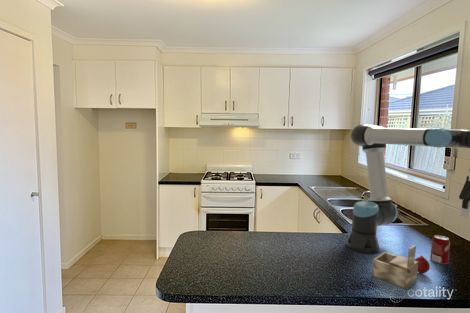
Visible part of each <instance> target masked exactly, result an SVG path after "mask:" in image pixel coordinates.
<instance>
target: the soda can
mask: <svg viewBox="0 0 470 313" xmlns="http://www.w3.org/2000/svg"><path fill="white" fill-rule="evenodd" d="M450 248H451V242H450V239H449V237H447V236H444V235H440V234H435V235H433V238H432V239H431V249H430V258H429V260H430V261H432V262H433V263H435V264H438V265H447V264H449V256H450V250H451V249H450Z"/></svg>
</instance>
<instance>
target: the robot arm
mask: <svg viewBox="0 0 470 313" xmlns="http://www.w3.org/2000/svg"><path fill="white" fill-rule="evenodd" d="M350 139H351V141H352V143H353V144H355V145H356V146H359V147H361V148H362V152H364V153H365V158H366V166H367V176H368V177H367V178H368V185H369V194H370V196H369V198H368V199H367V200H365V201H357V202H355V203H354V205H353V207H352V208H353V209H352V219H351V220H352V222H351V230H350V231H351V232H350V233H349V235H348V238H347V240H346V246H347V247H348V248H349V249H350V250H352V251H356V252H359V253H363V254H376V253H377V254H378V252H379V251H380V245H379V244H380V243H379V241H378V237H377V229H378V226H379V227H380V226H385V225H389V224H391V223H393V222H394V221H395V220H397V218H398V214H399V212H398V207H397V206H396V205H395V204H394V203H393V199H392V198H391V197H390V195H389V191H388V182H387V175H386V174H387V172H386V166H385V165H386V164H385V155H384V151H385V150H386V149H387V145H397V146H398V145H400V146H416V147H417V146H418V147H433V148H462V149H463V148H464V149H465V148H467V149H470V129H451V128H450V129H449V128H443V127H437V128H423V127H421V128H418V127H417V128H415V127H413V128H412V127H410V128H406V127H405V128H403V127H402V128H398V127H384V126H381V125H377V124H359V125H356V126H355V127H353V129H352V130H351V131H350ZM469 173H470V168H469ZM458 198H459V200H462V202H461V210H460V216H461V217H465V218H470V175H467V176H466V179H465V183H464V185H463V187H462V188H461V191H460V193H459V196H458Z"/></svg>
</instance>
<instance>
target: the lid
mask: <svg viewBox="0 0 470 313" xmlns="http://www.w3.org/2000/svg"><path fill="white" fill-rule="evenodd" d="M416 250H417V245H416V244H413V245H412V246H410V247H409V248H408V251H407V252H408V254H407V257H405V256H403V255H396V256H397V257H396V258H394V259H393V260H392V261H390V264H393V265H395V266H398V267H401V268H404V269H407V270H410V269H411V268H412V267H414V266H415V265H416V264H417V263H418V261H415V259H416V253H417V252H416Z"/></svg>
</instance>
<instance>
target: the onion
mask: <svg viewBox="0 0 470 313" xmlns="http://www.w3.org/2000/svg"><path fill="white" fill-rule="evenodd" d="M415 261H418V262H420V264H419V265H418V272H417V273H418V274H420V275H422V274H426V273H427V272H428V271H429V270H431V269H430V268H431V265H430V263H429V261H428V260H427V258H425V257H424V255H422V254H420V255H419V256H418V257H415Z"/></svg>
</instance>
